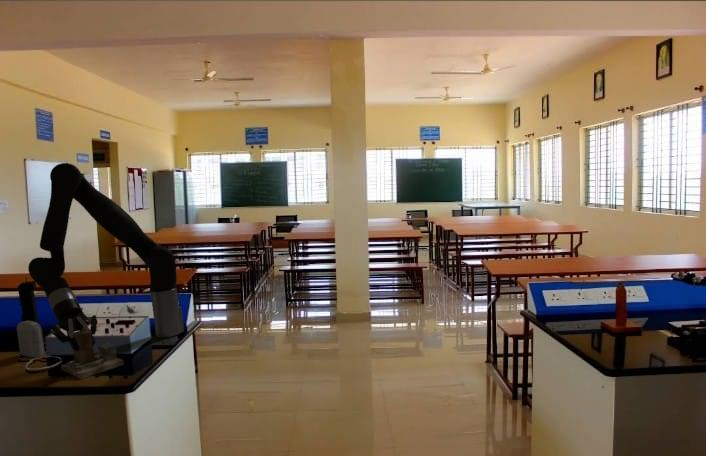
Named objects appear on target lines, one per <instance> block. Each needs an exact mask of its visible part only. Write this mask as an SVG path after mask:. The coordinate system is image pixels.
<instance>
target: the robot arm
mask: <svg viewBox="0 0 706 456" xmlns="http://www.w3.org/2000/svg"><path fill="white" fill-rule="evenodd" d="M49 175H50V176H49V179H50V183H51V184H50V200H49V204H48V205H49V206H48V209H47V213H46V215H45V219H44V224H43V226H42V232H41V237H40V242H39V248H40V249H41V250H43V251H47V252H49V253H50V257H34V258H33V259H32V260H31V259H30V262H29V264H28V266H27V267H28V270H27V271H28V274H29V276H30V277H31V279H32V280H33V281H35V282H36V284H37V286H39V287H40V288H41V289H42V290H43V291H44V293H45V295H46V297H47V300H48V303H49V306H50V309H51V311H52V313H53V316H55V317H54V318H55V319H56V321H57V324H53V325H51V328H50V331H49V332H50V333H51V334H52V335H53V336H54V337H56V339H58V340H59V341H60V342H61V343H63V344H65V343H69V344H70V347H71V349H72V350H75V351H78V350H79V348H80V347H79V346H78V344H77V342H76V340H75V338H74V335H73V334H74V332H78V331H82V330H85V331H89V332H91V337H92V344H93V347H94V346H95V343H96V339H95V337H94V336H95V334H96V331H97V328H98V327H97V315H96V314H93V315H91V316H87V315H86V314H85V313H84V312H83V309H82V307H81V305H80V303H79V301H78V299H77V297H76V295H75V293H74V292H73V291H72V289H71V287H70V285H69V283H68V281H67V279H66V278H64V277H63V275H64V272H65V269H66V261H65V249H64V248H65V246H64V245H65V242H66V237H67V232H68V225H69V218H70V212H71V207H72V203H73V200H75V201H76V202H77V203H78V204H79V205H80V206H82V207H83V209H84V210H85V211H86V212H87V213H88V214H89V216H90V217H91V218H92V219H93V220H94V221H96V223H97V224H98V225H99V226H100V227H102V228H103V229H104V230H105V231H106V232H108V234H110V235H111V236H113V237H114V238H115V239H116V240H117V241H120V243H122V244H123V245H125V246H127V247H128V248H129V249H130V250H132V251H133V252H134V253H135V254H136V255H137V256H138V257H139V258H140V259H141V260H142V262H143V263H144V264H145V265H146V266H147V267H148V268H149V269H148V270H149V277H150V283H149V290H150V298H151V305H152V313H153V321H154V322H153V323H154V330H155V337H157V338H163V339H164V338H170V337H174V336H177V335H180V334H181V333H184V332H185V327H184V321H183V320H184V318H183V312H182V311H183V310H182V306H180V305H179V296H178V290H177V289H178V288H177V279H178V278H177V269H176V268H177V267H176V266H177V265H176V259H175V256H174V254H173V252H172V251H171V250H170V249H169V248H167V247H163V246H161V245H160V244H159V243H157V242H155V241H154V240H153V239H152V238H150V237H149V236H148V235H147V234H146V233H145V232H144V231H143V229H142V228H141V227H140V225H139V224H138V223H137V222H136V220H135V219H134V218H133V217H132V216H131V215H130V214H129V213H128V212H127V211H125V210H124V209H123V208H122V207H121V206H120V205H118V203H116V201H113V199H111V198H110V197H108V196H106V195H105V194H103V193H102V192H101V191H99V190H98V189H97V188H96V187H95V186H93V184H92V183H91V182H90V181H88V179H87V178H86V177H85V176H84V175H83V174H82V172H81V170H80V169H79V168H78V167H77V166H76V165H74V164H73V163H67V162H62V163H58V164H56V165H55V166H54V167H52V168H51V171H50V174H49ZM87 322H88V324H89V325H90V327H89V326H88V324H87ZM62 330H63V331H62ZM64 331H66V333H64Z"/></svg>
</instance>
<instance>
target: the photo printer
mask: <svg viewBox="0 0 706 456" xmlns="http://www.w3.org/2000/svg"><path fill="white" fill-rule="evenodd" d="M41 328H42V326H41V325H40V323H39V324H37V323H36V322H33V321H24V322H22V321H20V322H19V323H18V324H17V325H16V332H17V333H16V334H17V335H16V336H17V340H18V341H17V342H18V349H19V353H20V355H21V356H25V357H30V358H40V357H42V356H44V355H45V352H46V351H45V345H44V337H43V336H44V335H43V336H42V329H43V328H42V329H41Z"/></svg>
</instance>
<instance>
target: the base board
mask: <svg viewBox="0 0 706 456" xmlns="http://www.w3.org/2000/svg"><path fill="white" fill-rule="evenodd" d="M97 350H98V353H97V354H94V359H95V360H93V361H89V362H86V363H83V364H80V363H78V362H75V359H74V360H70V361H68V362H65V364H62V365H61V371H63V372H65V373H67V374H69V375H71V376H73V377H75V378H78V379H80V380H83V379H86V378H88V377H91V376H95V375H97V374H101V373H103V372H106V371H109V370H113V369H115V368H119V367H122V366H124V365H125V362H124V359H121V358H118V355H117V348H116V345H114V344H110V343H109V342H106V343H102V344H100V345H97Z"/></svg>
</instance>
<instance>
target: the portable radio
mask: <svg viewBox="0 0 706 456" xmlns="http://www.w3.org/2000/svg"><path fill="white" fill-rule="evenodd" d="M27 278H28V277H25V281H24V282H20V283H19V284H18V285H17V291H18V298H19V304H20V306H21V313H22V314H21V318H20V319H21V320H20V321H21V322H24V321H33V322H36V323H37V324H39V325H40V322H39V315H38V309H37V302H36V295H35V289H36V288H37V285H36V284H37V283H36V282H35V281H34V280H33V281H32V280H31V281H30V280H29V281H28V279H27ZM41 329H42V336H44V329H43V327H41Z"/></svg>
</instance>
